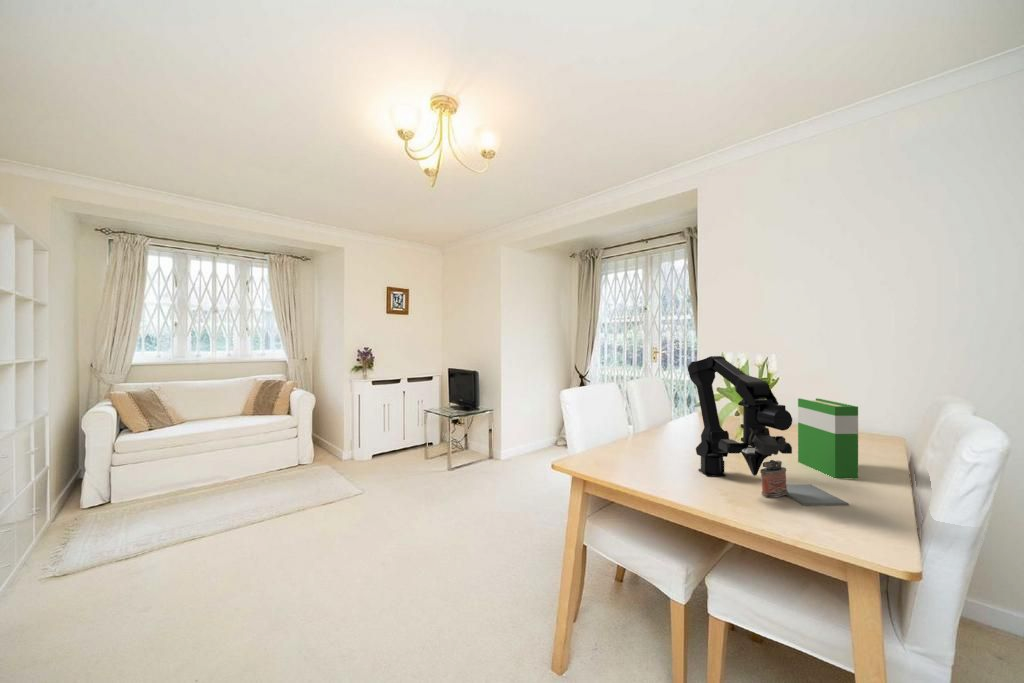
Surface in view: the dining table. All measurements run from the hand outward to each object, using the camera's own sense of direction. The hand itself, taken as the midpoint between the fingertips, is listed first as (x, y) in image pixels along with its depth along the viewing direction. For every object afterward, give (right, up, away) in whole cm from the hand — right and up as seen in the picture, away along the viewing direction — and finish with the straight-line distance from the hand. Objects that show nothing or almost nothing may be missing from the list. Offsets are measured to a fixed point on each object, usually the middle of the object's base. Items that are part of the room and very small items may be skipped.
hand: (754, 475), depth 116 cm
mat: (+16, -6, 0) cm, 17 cm away
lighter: (+6, -6, 0) cm, 9 cm away
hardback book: (+39, -6, +22) cm, 45 cm away
